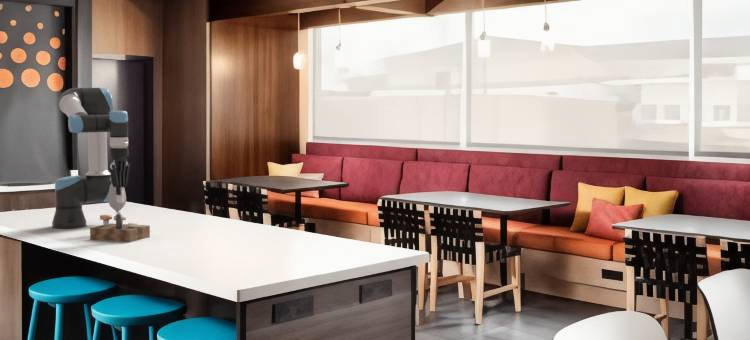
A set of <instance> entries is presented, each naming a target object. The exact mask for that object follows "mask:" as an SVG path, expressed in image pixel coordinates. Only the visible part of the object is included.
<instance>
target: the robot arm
mask: <svg viewBox="0 0 750 340" xmlns="http://www.w3.org/2000/svg"><path fill="white" fill-rule="evenodd" d="M57 101H58V102H57V105H58V108H59V110H60V111H61V112H62V113H63V114H65V116H66V117H67V118H68V119H67V122H68V124H67V125H68V131H69V132H70V133H73V134H75V133H76V134H81V133H82V134H83V133H87V149H88V150H87V151H88V153H87V154H88V171H87V172H86V173H85V178H82V176H81V175H70V176H64V177H60V178H57V179H56V180H55V182H54V194H55V212H54V216H53V220H52V222H51V225H52V228H53V229H54V228H55V229H75V228H83V227H86V226H87V219H86V217H85V214H84V211H83V204H92V203H106V202H107V203H109V201H108V196H109V188H110V185H113V186H114V187H116V196H117V202H118V203H123V202H124V188H126V187H127V185H128V182H129V172H130V166H131V162H128V158H127V157H128V156H129V152H130V151H129V115H128V112H127V111H126V110H114V100H113V96H112V93H111V91H110V89H108V88H107V87H105V88H104V87H72V88H69V89H66V90H65V91H64V92H62V94H60V96H59V98H58V100H57ZM108 133H109V146H110V148H109V156H110V157H112V160H111V163H110V164H108V136H107V135H108ZM108 169H109V170H108Z"/></svg>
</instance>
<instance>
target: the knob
mask: <svg viewBox="0 0 750 340" xmlns="http://www.w3.org/2000/svg"><path fill="white" fill-rule="evenodd" d="M127 224H128V227H129V228H137V227H140V225H141V223H140V222H128V223H127Z"/></svg>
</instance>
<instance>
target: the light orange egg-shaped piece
mask: <svg viewBox="0 0 750 340" xmlns="http://www.w3.org/2000/svg"><path fill="white" fill-rule="evenodd" d="M99 220H100V221H101V220H102V222H103V223H102V225H103V226H104V227H108V226H109V224H110V220H113V215H112V214H100V215H99Z"/></svg>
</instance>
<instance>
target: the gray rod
mask: <svg viewBox="0 0 750 340" xmlns="http://www.w3.org/2000/svg"><path fill="white" fill-rule="evenodd" d="M115 216H116V220H115V224H116V229H122V213H121V211H119V212H117V213H116V214H115Z"/></svg>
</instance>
